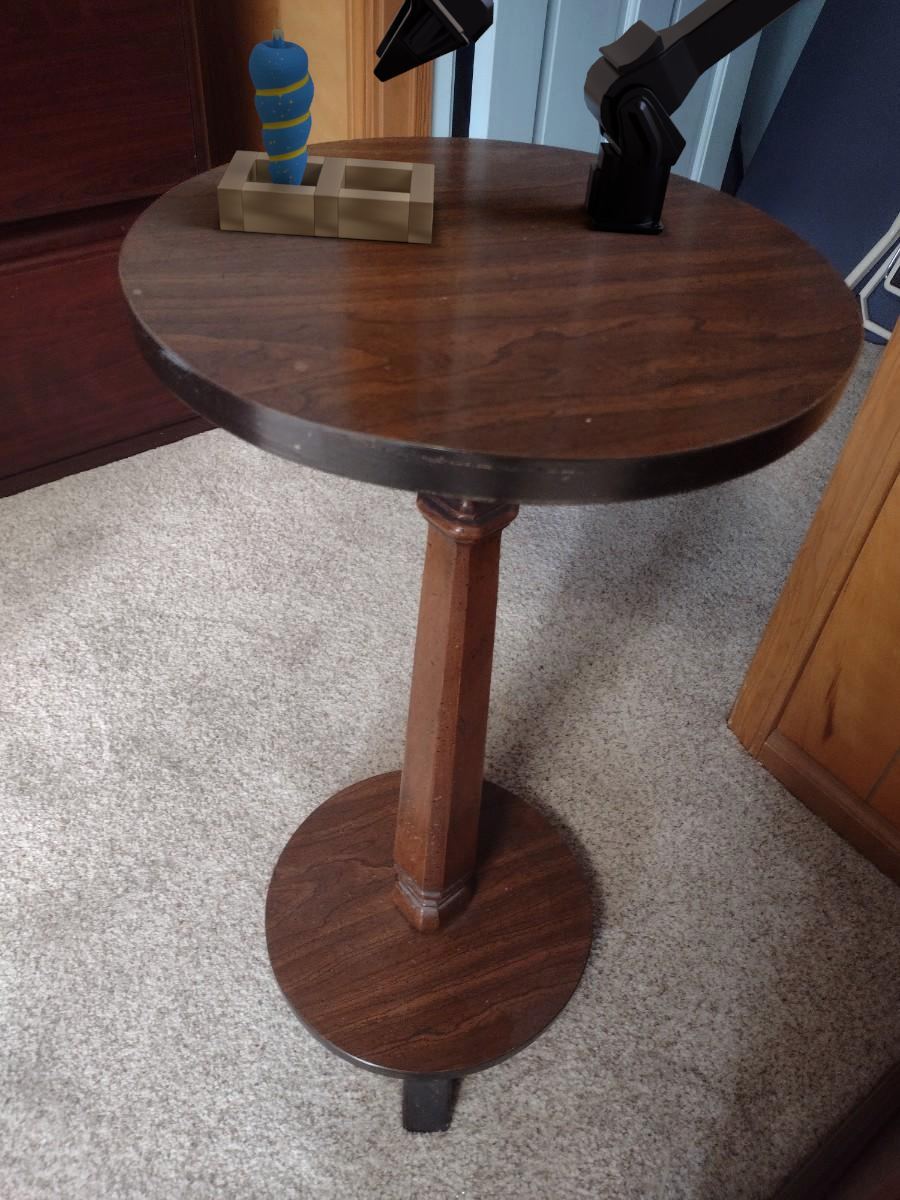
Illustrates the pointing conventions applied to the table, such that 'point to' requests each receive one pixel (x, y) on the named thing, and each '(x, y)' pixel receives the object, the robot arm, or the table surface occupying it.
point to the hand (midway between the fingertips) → (378, 67)
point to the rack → (330, 199)
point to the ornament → (283, 105)
